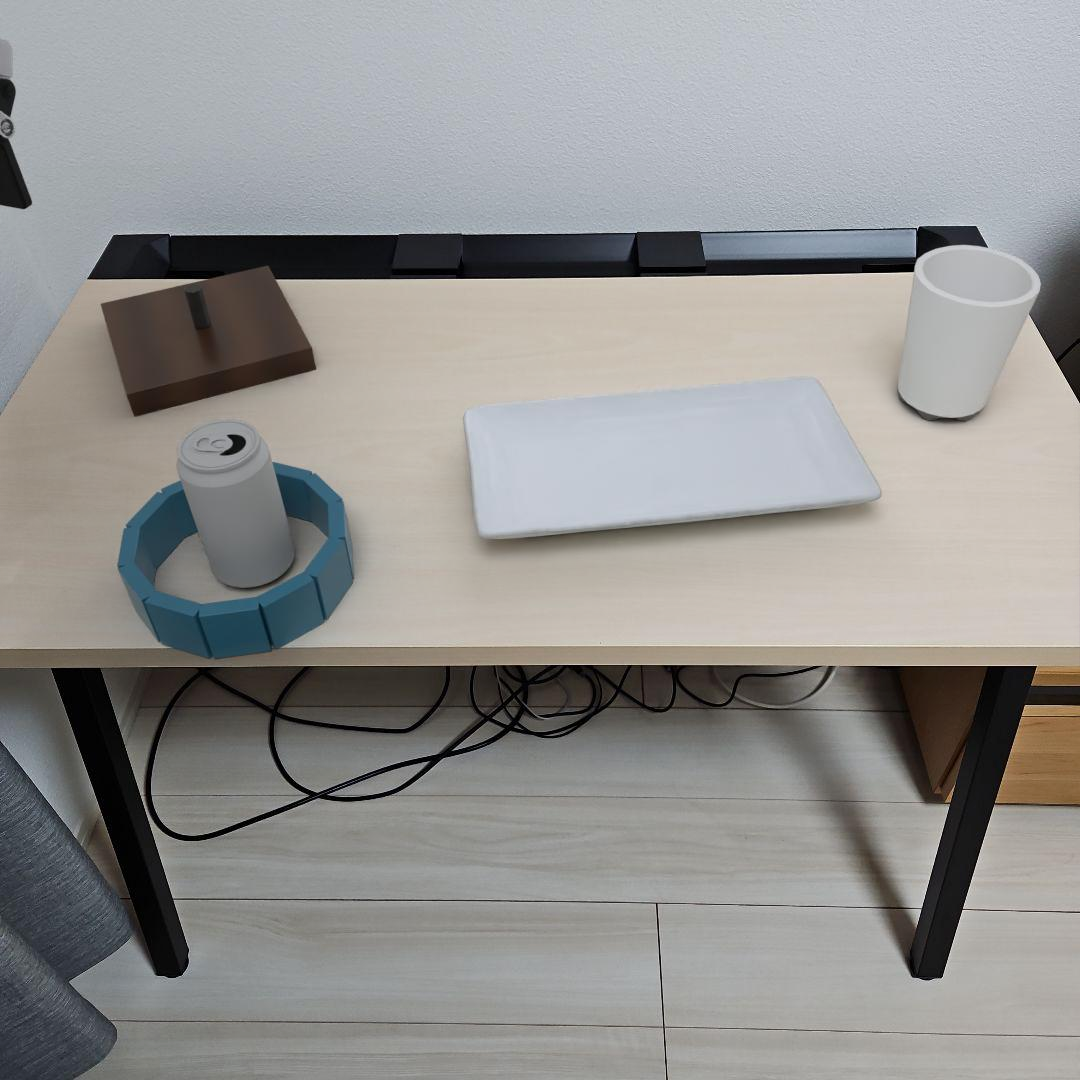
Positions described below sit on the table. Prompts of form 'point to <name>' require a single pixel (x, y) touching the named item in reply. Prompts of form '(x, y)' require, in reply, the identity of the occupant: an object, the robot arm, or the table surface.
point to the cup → (962, 327)
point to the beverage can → (235, 502)
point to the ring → (245, 619)
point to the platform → (205, 339)
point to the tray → (660, 458)
